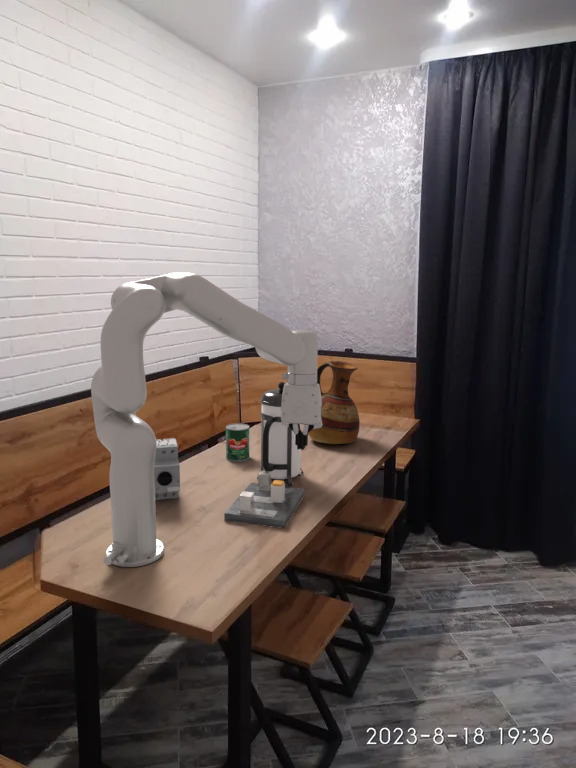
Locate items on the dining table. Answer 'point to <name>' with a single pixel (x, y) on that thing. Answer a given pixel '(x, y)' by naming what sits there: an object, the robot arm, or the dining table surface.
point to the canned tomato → (237, 442)
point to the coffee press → (278, 439)
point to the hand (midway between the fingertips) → (301, 447)
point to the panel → (264, 504)
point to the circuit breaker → (166, 469)
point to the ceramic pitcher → (337, 407)
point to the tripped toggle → (277, 491)
